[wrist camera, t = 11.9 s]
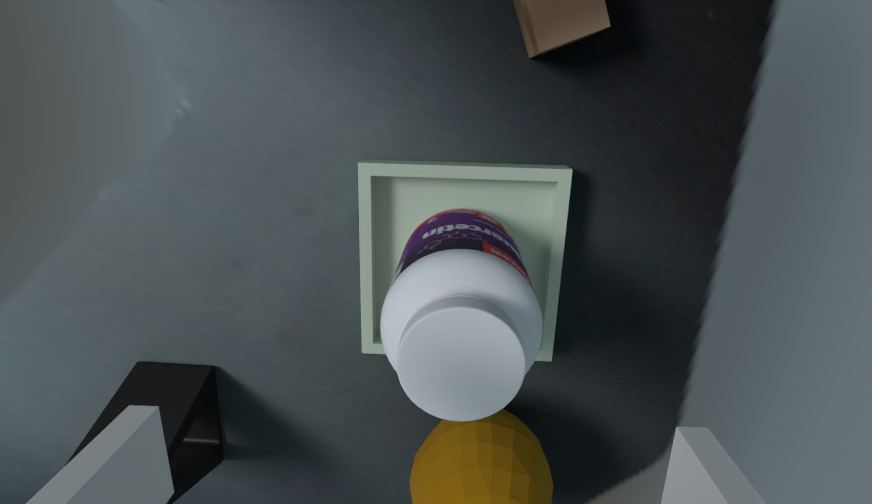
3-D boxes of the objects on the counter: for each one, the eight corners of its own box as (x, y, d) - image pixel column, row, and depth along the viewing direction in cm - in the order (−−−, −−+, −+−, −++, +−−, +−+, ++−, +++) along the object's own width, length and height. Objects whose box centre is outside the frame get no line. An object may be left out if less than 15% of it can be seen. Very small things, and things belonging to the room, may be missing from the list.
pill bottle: (532, 220, 33) (586, 305, 20) (499, 324, 36) (526, 464, 22) (417, 191, 33) (390, 255, 19) (391, 297, 35) (350, 422, 22)
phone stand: (223, 459, 41) (133, 597, 30) (153, 453, 41) (36, 589, 30) (215, 364, 38) (112, 476, 27) (140, 359, 38) (6, 468, 27)
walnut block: (510, -8, 30) (519, -24, 26) (574, -33, 29) (592, -53, 26) (529, 58, 31) (539, 52, 27) (590, 35, 30) (610, 26, 27)
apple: (436, 357, 37) (427, 466, 26) (556, 390, 38) (598, 511, 27) (404, 458, 40) (383, 595, 29) (515, 487, 41) (538, 634, 29)
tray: (363, 159, 33) (357, 162, 31) (565, 165, 33) (572, 169, 31) (366, 339, 37) (361, 353, 35) (546, 347, 37) (551, 361, 35)
